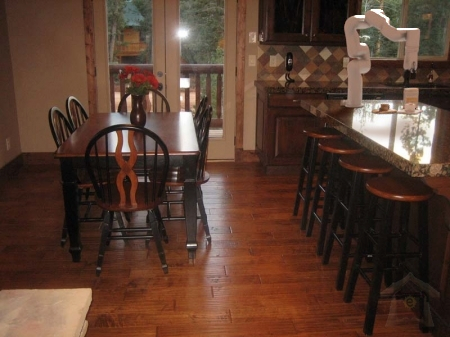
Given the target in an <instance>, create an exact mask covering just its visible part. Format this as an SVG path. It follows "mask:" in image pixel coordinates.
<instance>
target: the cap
mask: <svg viewBox="0 0 450 337" xmlns="http://www.w3.org/2000/svg"><path fill="white" fill-rule="evenodd" d="M415 110H416V109H415V104H412V103H408V104H405V111H408V112H412V111H415Z"/></svg>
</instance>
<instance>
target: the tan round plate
mask: <svg viewBox="0 0 450 337" xmlns="http://www.w3.org/2000/svg"><path fill="white" fill-rule="evenodd" d="M390 107H391V106H390V104H389V103H380V107H378V108H375V109H371V113H373V114H378V113H379V115H380V114H381V115H384V114H385V115H387V114H390V115H391V114H397V111H398V110H397V109H393V108H390Z"/></svg>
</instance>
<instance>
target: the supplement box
mask: <svg viewBox="0 0 450 337" xmlns="http://www.w3.org/2000/svg"><path fill="white" fill-rule="evenodd" d="M419 93H420V92H419V87H409V88H408V87H406V88H403V98H402V99H403V102H402V109H405V104H408V103H412V104H415V108H417V109H418V108H419Z"/></svg>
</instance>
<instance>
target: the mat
mask: <svg viewBox="0 0 450 337" xmlns="http://www.w3.org/2000/svg"><path fill="white" fill-rule="evenodd" d="M420 112H421V113H423V112H424V110H423V109H415V111H412V112H408V111H405V109H404V108H402V109H400V110H397V112H396V114H404V115H405V114H406V115H418V113H419V114H421V113H420Z"/></svg>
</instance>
